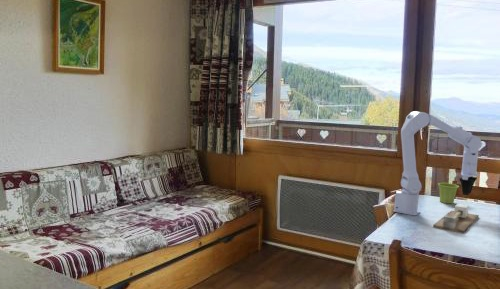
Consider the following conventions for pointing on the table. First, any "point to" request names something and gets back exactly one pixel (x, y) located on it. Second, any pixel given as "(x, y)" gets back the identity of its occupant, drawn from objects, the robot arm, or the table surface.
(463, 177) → the robot arm
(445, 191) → the plant pot
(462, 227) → the board
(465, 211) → the sleeve
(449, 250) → the table surface
